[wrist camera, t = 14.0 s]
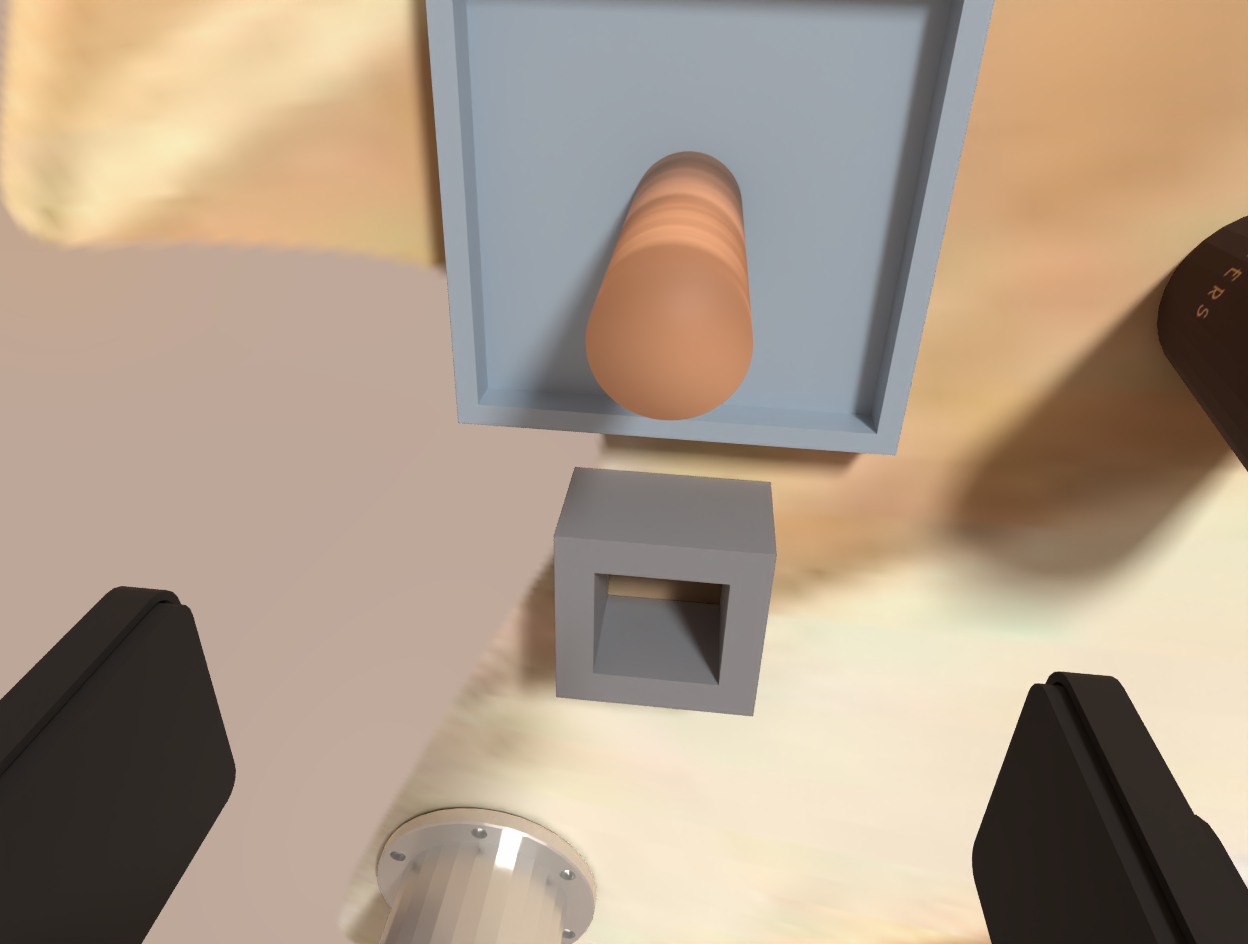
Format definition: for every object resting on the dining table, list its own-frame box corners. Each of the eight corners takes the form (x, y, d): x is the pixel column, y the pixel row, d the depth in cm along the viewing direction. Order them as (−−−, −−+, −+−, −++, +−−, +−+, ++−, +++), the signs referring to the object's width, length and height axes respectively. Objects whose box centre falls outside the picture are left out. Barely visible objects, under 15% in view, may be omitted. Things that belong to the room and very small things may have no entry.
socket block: (750, 633, 39) (752, 716, 35) (574, 617, 40) (556, 697, 35) (770, 482, 35) (776, 554, 31) (574, 467, 36) (554, 536, 31)
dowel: (736, 263, 30) (744, 425, 19) (632, 258, 30) (584, 415, 20) (746, 153, 28) (761, 268, 17) (635, 148, 28) (585, 258, 18)
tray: (884, 423, 33) (895, 455, 31) (475, 394, 34) (458, 422, 32) (985, -69, 25) (1010, -72, 23) (444, -85, 26) (418, -89, 24)
